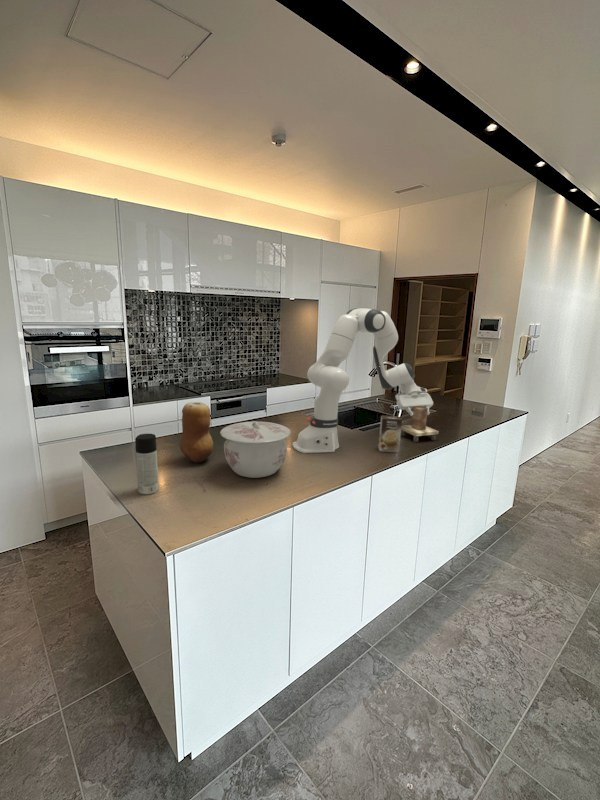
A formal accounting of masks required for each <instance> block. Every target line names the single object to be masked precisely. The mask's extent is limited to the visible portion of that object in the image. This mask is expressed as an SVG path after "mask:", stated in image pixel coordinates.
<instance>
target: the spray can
mask: <svg viewBox="0 0 600 800" xmlns="http://www.w3.org/2000/svg"><path fill="white" fill-rule="evenodd" d="M134 439H135V458H136V475H137V489H138V493H139V494H141V495H151V494H156V493H157V492H158V491H159V487H160V486H159V485H160V484H159V469H158V467H159V466H158V451H157V450H158V449H157V448H158V447H157V437H156V435H155V433H154V434H153V433H142V434H138V435H137V436H136V437H135V438H134Z"/></svg>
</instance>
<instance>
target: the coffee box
mask: <svg viewBox="0 0 600 800" xmlns="http://www.w3.org/2000/svg"><path fill="white" fill-rule="evenodd" d="M379 424H380V425H379V434H378V446H377V449H378V451H379V452H383V453H384V452H387V453H397V452H398V453H400V446H401V445H400V444H401V437H402V436H401V426H403V419H402V417H400V416H399V415H398V416H395V415H382V414H381V415H380V423H379Z"/></svg>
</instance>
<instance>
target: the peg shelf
mask: <svg viewBox="0 0 600 800" xmlns="http://www.w3.org/2000/svg"><path fill="white" fill-rule="evenodd" d="M406 433H407V434H410V435H412V436H413V438H412V439H413V441H412V442H413V443H415V442H418V443H419V437H422V436H430V440H431V441H433V442H434V441H436V440H437V435H439V430H436V429H434V428H432V427H429V426H427V425H426V430H416V429H414V428H412V424H407V425H402V426H401V436H400V437H405V436H406Z"/></svg>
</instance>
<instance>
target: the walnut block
mask: <svg viewBox="0 0 600 800" xmlns="http://www.w3.org/2000/svg"><path fill="white" fill-rule="evenodd" d="M427 410H428V409H426V408H423V407H413V409H412V412H414V414H415V415H414V416H412V418H411V419H412V420H411V425H412V428H414V429H416V430H426V426H427V420H428V419H427V418H428V415H427Z"/></svg>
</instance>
